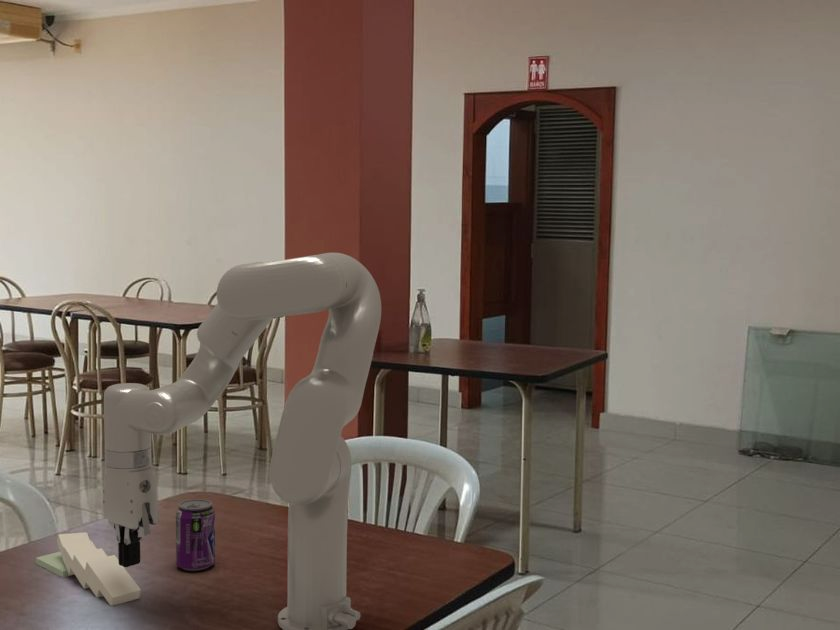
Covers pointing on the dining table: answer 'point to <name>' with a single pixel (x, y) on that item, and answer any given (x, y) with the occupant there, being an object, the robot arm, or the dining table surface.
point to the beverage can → (195, 535)
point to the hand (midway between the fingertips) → (129, 564)
